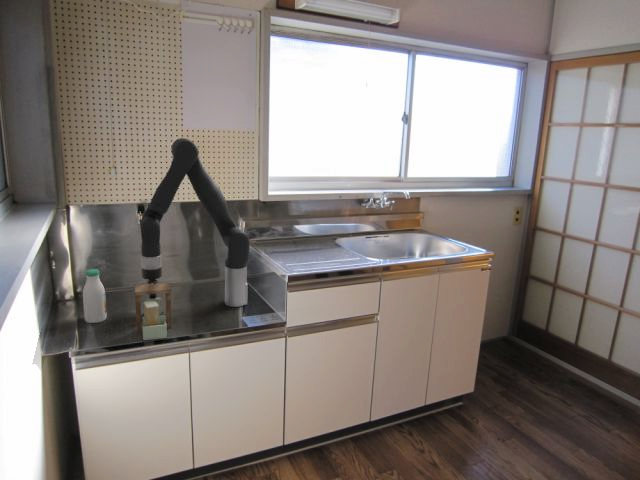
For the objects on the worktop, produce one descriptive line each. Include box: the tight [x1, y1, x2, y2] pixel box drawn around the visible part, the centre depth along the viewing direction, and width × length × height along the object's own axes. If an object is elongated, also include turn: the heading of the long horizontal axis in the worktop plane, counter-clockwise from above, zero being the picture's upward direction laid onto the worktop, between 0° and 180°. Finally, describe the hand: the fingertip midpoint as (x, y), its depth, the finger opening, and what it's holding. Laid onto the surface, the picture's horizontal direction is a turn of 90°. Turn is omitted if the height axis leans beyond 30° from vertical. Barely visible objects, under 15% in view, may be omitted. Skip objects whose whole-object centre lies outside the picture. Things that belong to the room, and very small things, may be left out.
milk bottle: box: [82, 268, 108, 324], centre depth 175 cm, size 8×8×20 cm
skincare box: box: [143, 300, 159, 327], centre depth 168 cm, size 6×4×12 cm
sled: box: [141, 297, 168, 341], centre depth 174 cm, size 8×21×7 cm, turn 21°
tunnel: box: [134, 282, 173, 333], centre depth 174 cm, size 12×7×16 cm, turn 111°
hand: (153, 305), depth 186 cm, fingers closed
